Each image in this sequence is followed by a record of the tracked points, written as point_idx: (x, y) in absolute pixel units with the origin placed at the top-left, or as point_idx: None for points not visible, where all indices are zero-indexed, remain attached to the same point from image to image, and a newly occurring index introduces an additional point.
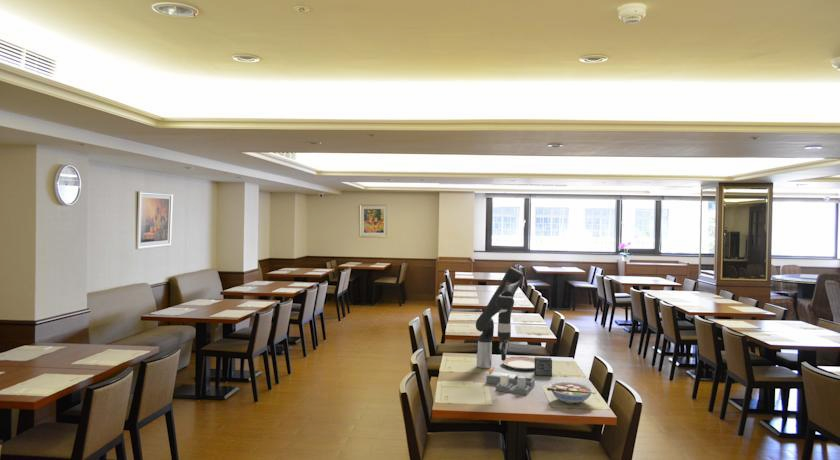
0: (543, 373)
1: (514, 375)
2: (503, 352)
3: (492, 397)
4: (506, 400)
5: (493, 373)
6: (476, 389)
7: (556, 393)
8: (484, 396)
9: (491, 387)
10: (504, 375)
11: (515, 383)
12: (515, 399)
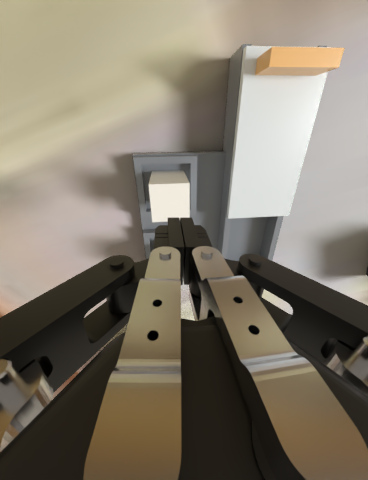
0: None
1: (269, 209)
2: (94, 318)
3: (34, 172)
4: (46, 230)
5: (277, 87)
6: (84, 41)
7: None
8: (15, 132)
9: (164, 118)
10: (154, 206)
11: (221, 216)
12: (81, 251)
